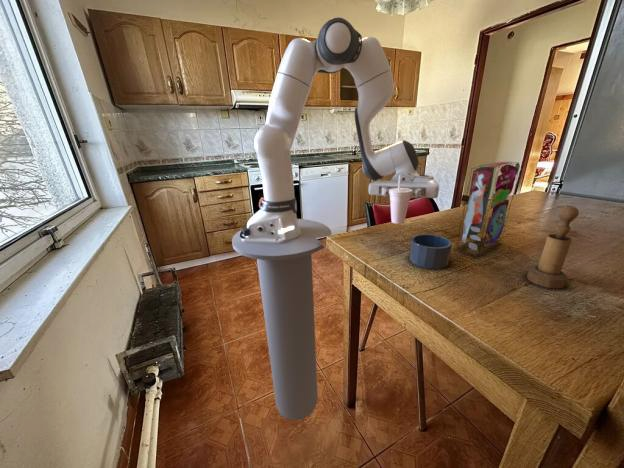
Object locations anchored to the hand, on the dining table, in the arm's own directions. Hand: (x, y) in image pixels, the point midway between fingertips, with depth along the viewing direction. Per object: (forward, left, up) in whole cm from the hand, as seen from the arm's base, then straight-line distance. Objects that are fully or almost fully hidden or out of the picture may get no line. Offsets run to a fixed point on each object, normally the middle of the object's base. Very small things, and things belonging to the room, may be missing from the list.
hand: (400, 194), depth 73 cm
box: (+29, +2, -17) cm, 33 cm away
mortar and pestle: (+29, -20, -17) cm, 39 cm away
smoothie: (0, +1, -9) cm, 9 cm away
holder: (+7, -8, -17) cm, 20 cm away
